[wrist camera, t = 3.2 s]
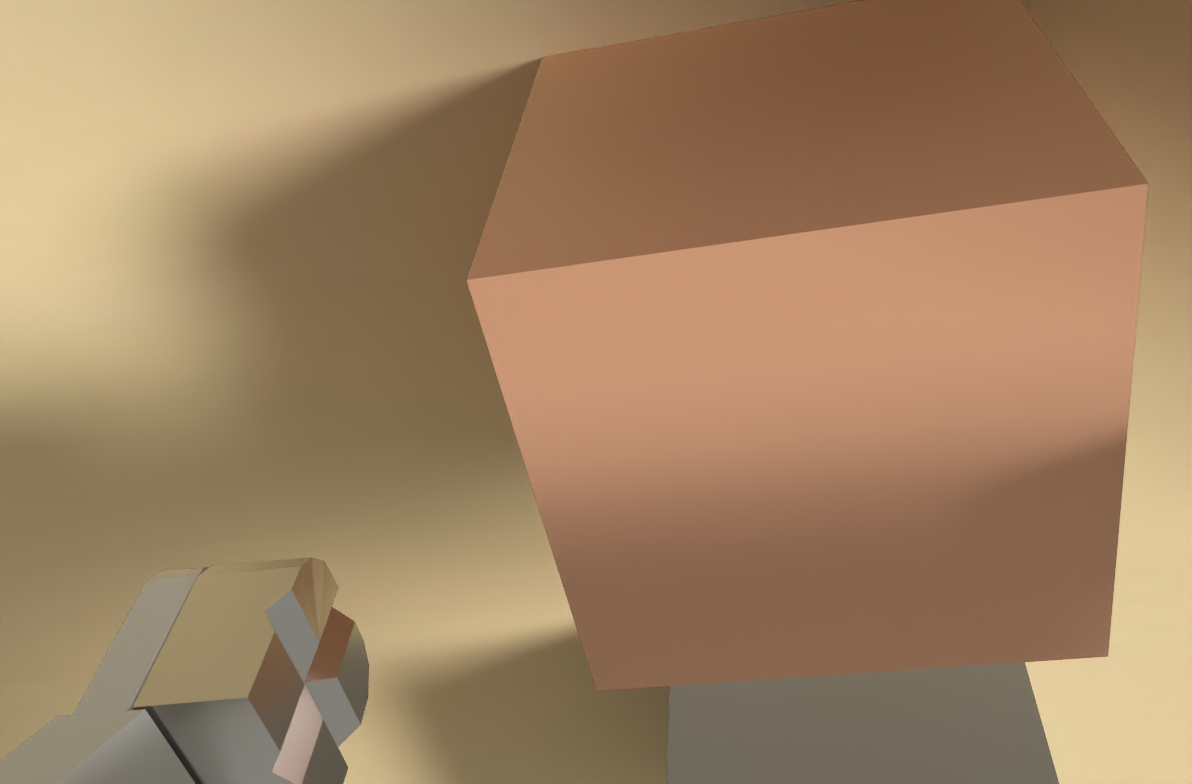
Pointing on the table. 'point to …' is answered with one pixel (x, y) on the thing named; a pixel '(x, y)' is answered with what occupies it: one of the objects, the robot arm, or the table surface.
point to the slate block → (862, 729)
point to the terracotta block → (820, 343)
